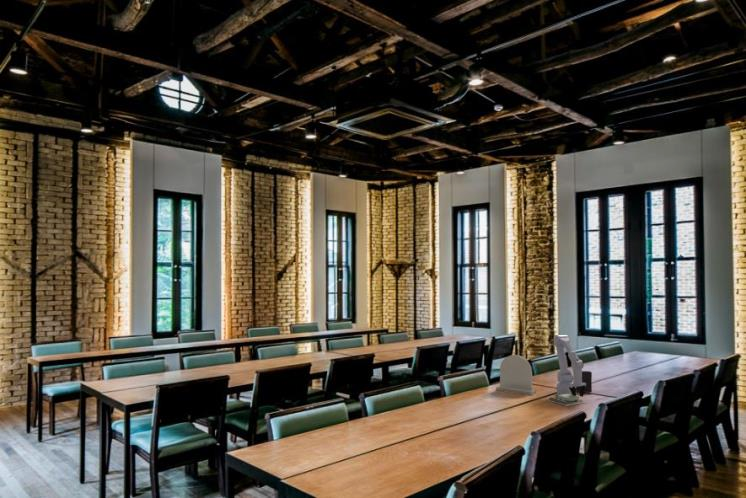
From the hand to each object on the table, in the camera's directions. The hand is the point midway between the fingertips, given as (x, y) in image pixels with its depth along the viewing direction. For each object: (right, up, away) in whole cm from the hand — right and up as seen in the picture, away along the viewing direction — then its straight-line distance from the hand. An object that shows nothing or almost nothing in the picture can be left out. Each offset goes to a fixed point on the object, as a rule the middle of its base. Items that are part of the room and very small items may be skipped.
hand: (577, 396), depth 365 cm
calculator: (+17, -5, +31) cm, 36 cm away
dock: (-10, -2, -5) cm, 11 cm away
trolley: (-8, -2, -5) cm, 10 cm away
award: (-37, -4, +26) cm, 45 cm away
